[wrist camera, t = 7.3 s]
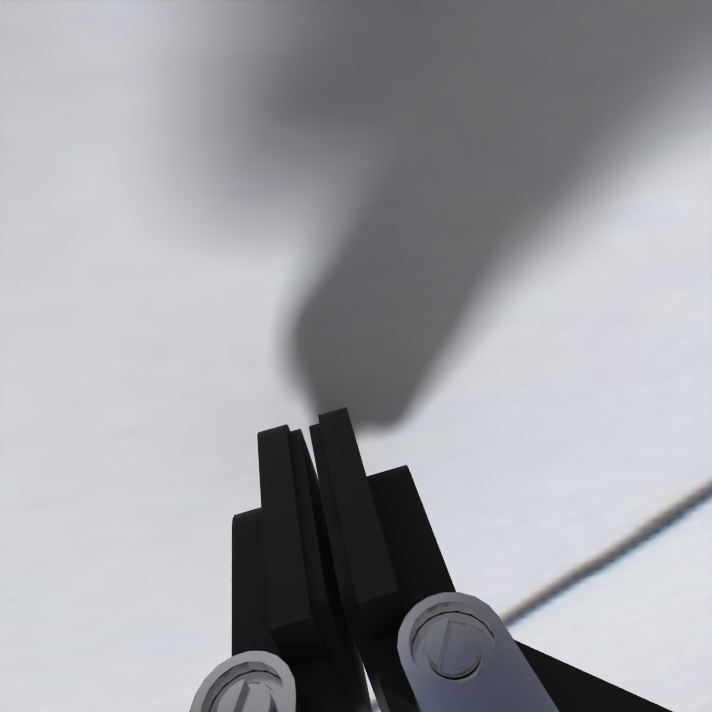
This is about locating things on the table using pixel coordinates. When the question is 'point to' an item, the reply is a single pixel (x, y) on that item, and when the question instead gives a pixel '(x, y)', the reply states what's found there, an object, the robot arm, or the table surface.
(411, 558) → the robot arm
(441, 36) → the table surface
